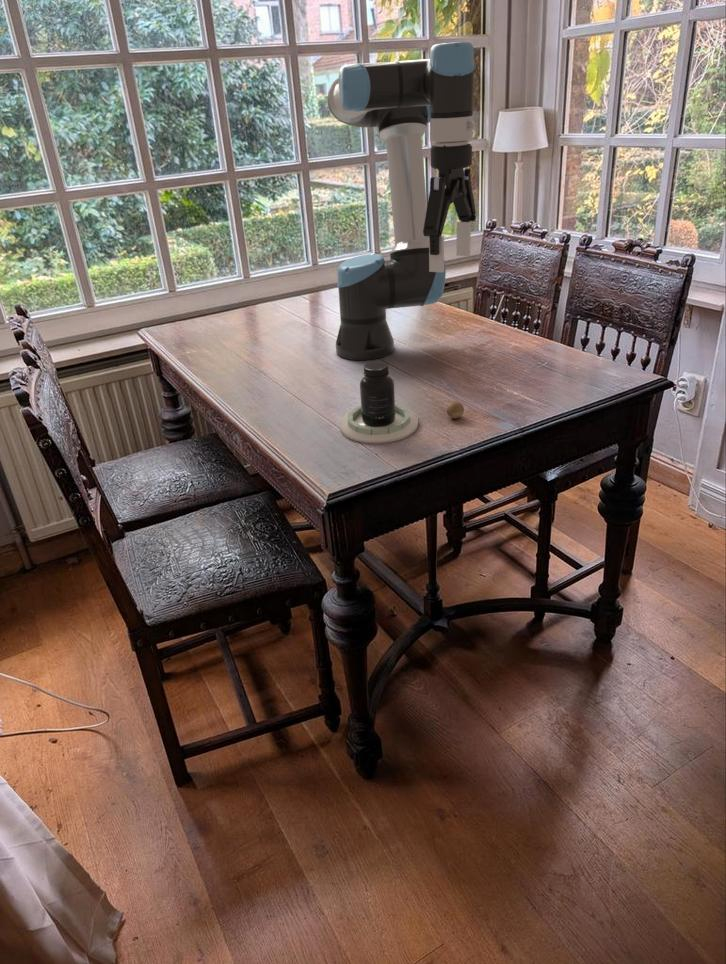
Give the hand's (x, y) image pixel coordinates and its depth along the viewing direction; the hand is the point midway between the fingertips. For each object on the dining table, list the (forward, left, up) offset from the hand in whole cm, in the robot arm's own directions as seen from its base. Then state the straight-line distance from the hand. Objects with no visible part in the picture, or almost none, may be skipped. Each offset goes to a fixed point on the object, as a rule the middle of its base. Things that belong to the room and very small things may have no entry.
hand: (450, 263), depth 134 cm
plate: (-8, -18, -29) cm, 35 cm away
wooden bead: (+5, -9, -29) cm, 30 cm away
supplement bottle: (-8, -18, -28) cm, 34 cm away
